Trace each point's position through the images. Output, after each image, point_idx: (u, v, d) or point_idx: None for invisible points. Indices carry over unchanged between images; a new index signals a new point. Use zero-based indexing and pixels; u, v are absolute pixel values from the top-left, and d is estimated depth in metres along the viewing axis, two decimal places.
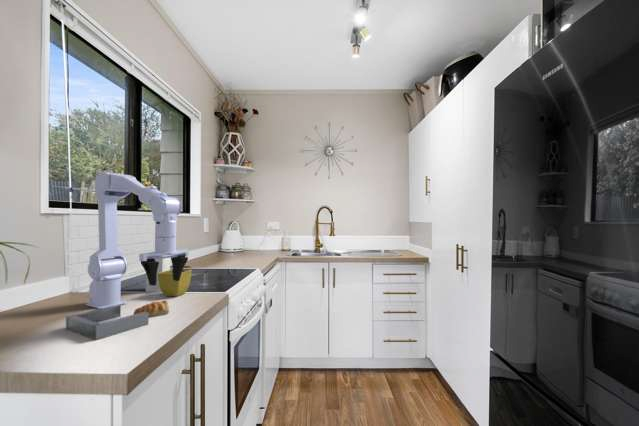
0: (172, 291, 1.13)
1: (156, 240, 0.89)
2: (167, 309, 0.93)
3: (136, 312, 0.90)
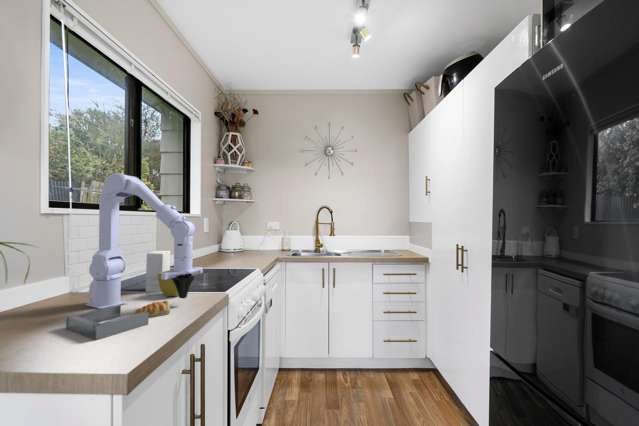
0: (172, 291, 1.13)
1: (175, 260, 1.00)
2: (168, 309, 0.93)
3: (137, 312, 0.89)
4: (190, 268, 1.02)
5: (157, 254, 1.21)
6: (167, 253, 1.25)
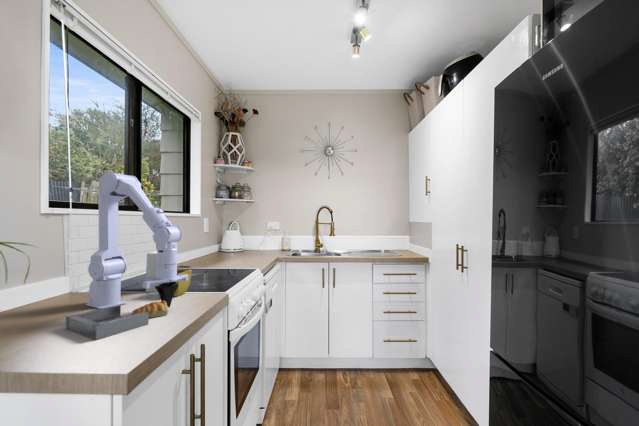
0: None
1: (158, 267, 0.95)
2: (166, 309, 0.92)
3: (135, 313, 0.88)
4: (174, 276, 0.97)
5: None
6: None
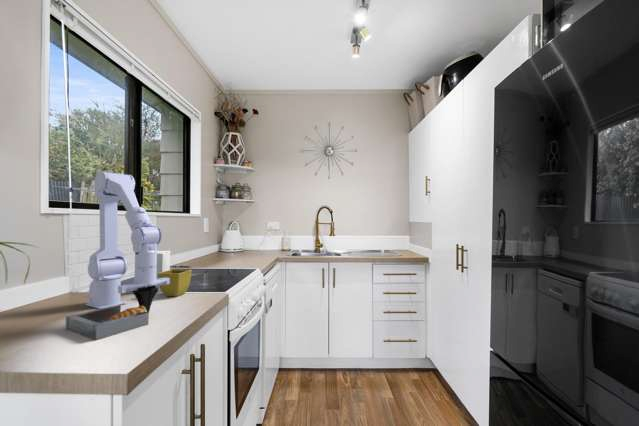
0: (172, 291, 1.13)
1: (136, 271, 0.89)
2: None
3: None
4: (153, 280, 0.91)
5: (157, 254, 1.21)
6: (167, 253, 1.25)
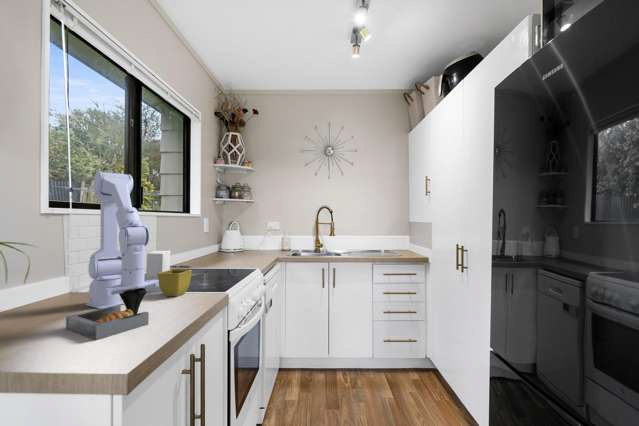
0: (172, 291, 1.13)
1: (122, 273, 0.86)
2: None
3: None
4: (141, 282, 0.87)
5: (157, 254, 1.21)
6: (167, 253, 1.25)
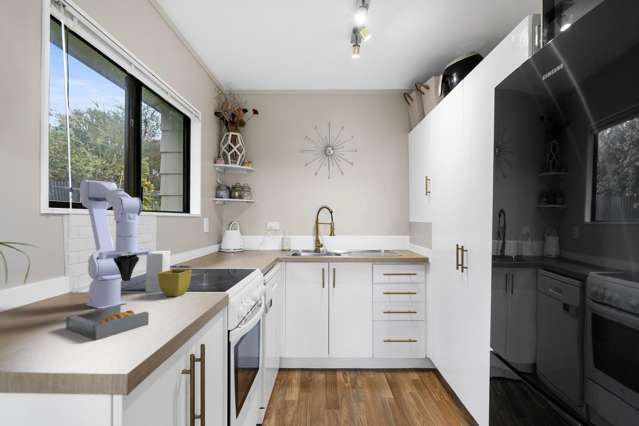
0: (172, 291, 1.13)
1: (116, 239, 0.92)
2: None
3: None
4: (134, 248, 0.94)
5: (157, 254, 1.21)
6: (167, 253, 1.25)
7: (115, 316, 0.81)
